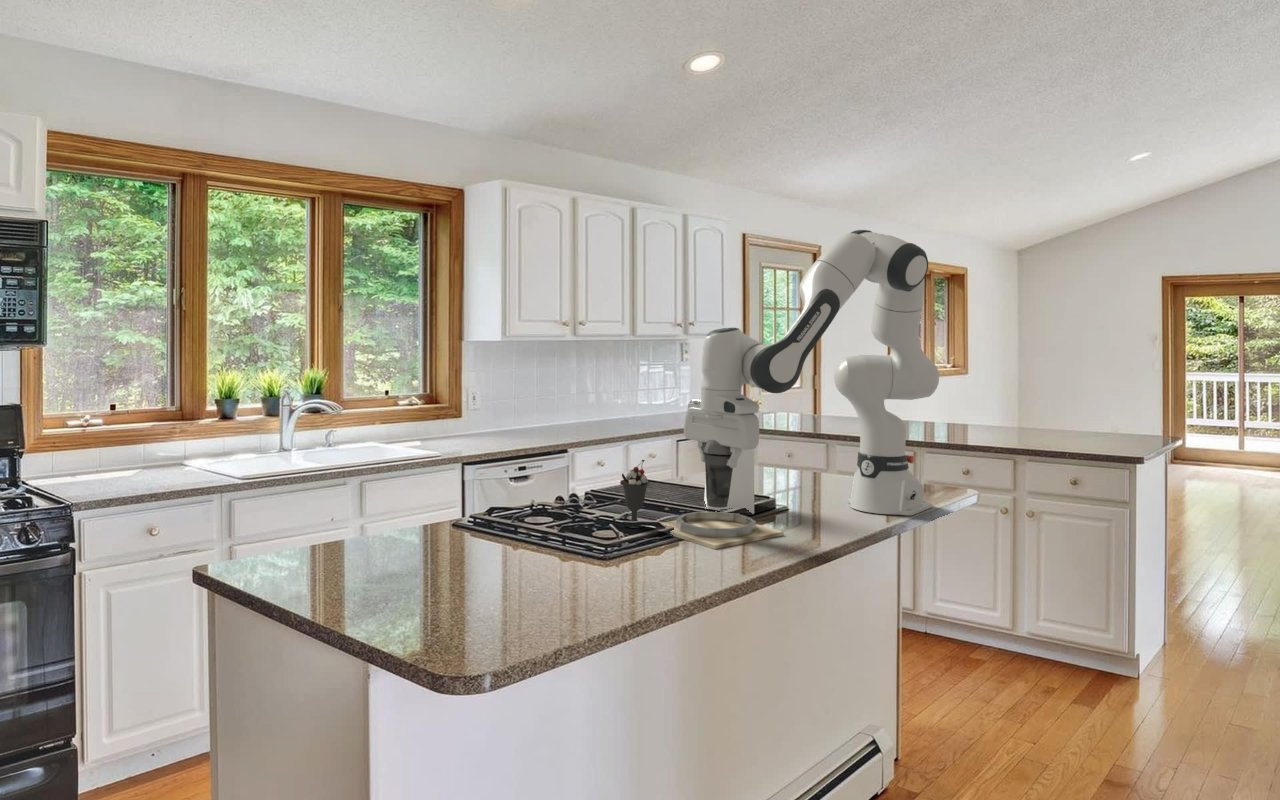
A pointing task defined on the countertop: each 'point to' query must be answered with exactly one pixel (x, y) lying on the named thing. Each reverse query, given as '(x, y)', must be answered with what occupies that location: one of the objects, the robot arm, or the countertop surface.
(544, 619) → the countertop surface
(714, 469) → the beverage cup
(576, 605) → the countertop surface
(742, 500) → the milk
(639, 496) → the sundae
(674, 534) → the ring seat
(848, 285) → the robot arm
